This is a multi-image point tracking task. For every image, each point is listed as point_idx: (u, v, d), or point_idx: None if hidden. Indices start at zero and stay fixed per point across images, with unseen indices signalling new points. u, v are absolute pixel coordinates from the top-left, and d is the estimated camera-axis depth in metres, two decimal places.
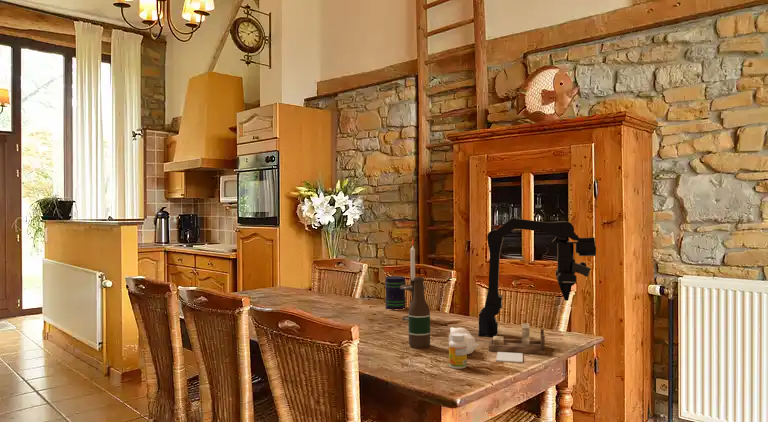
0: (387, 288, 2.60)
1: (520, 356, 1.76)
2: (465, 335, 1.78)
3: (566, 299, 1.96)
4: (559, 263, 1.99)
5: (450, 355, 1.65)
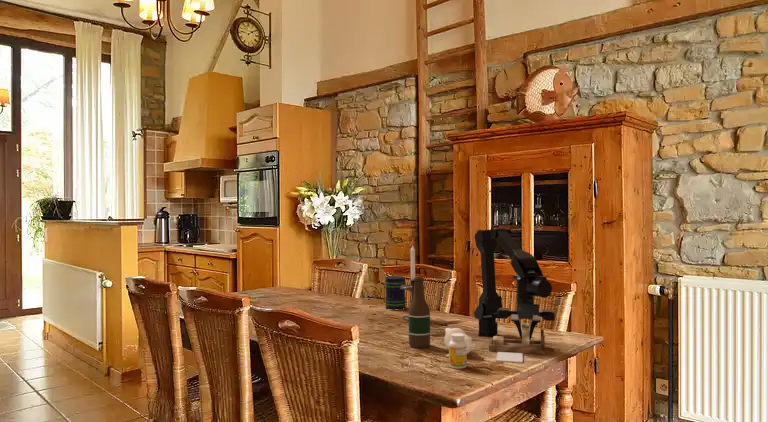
0: (387, 288, 2.60)
1: (520, 356, 1.76)
2: None
3: (520, 337, 1.86)
4: None
5: (450, 355, 1.65)
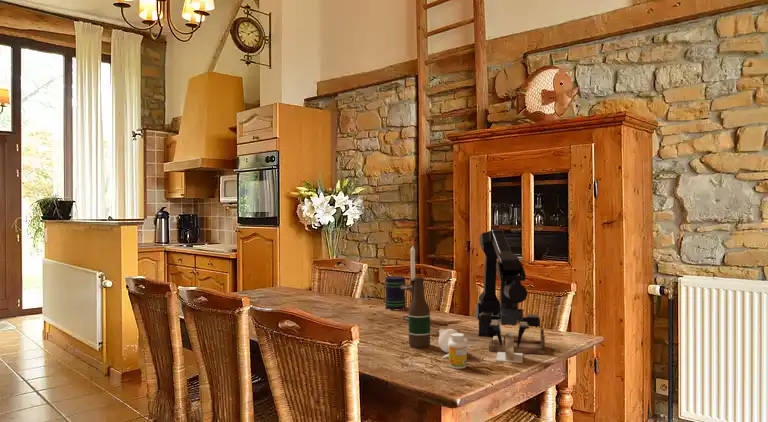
0: (387, 288, 2.60)
1: (520, 356, 1.76)
2: None
3: (500, 344, 1.76)
4: None
5: (450, 355, 1.65)
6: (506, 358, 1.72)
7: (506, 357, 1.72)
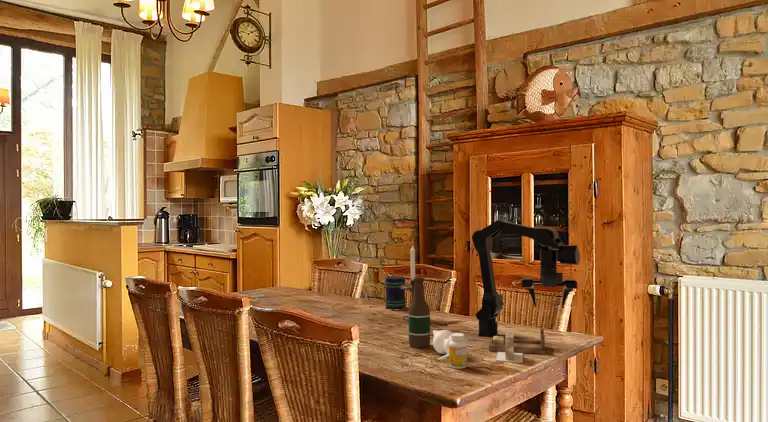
0: (387, 288, 2.60)
1: (520, 356, 1.76)
2: None
3: (534, 305, 1.96)
4: None
5: (450, 355, 1.65)
6: (506, 358, 1.72)
7: (506, 357, 1.72)
